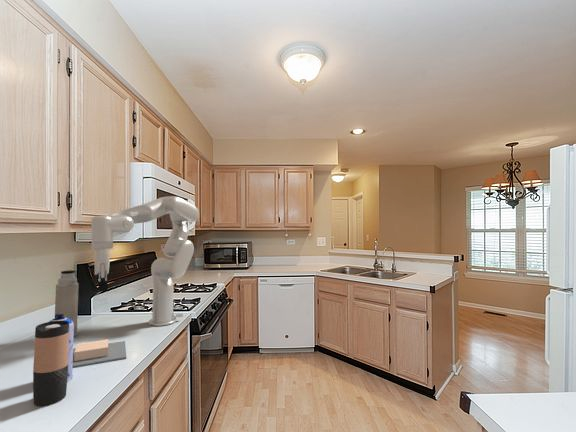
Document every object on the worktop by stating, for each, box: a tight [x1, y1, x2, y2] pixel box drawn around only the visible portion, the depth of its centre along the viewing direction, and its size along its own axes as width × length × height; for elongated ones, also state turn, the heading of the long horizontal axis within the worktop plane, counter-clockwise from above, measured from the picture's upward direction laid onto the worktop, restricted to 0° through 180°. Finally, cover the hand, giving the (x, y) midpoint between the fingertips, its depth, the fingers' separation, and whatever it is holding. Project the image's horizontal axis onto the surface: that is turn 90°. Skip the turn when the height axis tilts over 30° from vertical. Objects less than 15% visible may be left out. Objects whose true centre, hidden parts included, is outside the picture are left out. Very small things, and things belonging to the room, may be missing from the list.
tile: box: [74, 338, 109, 361], centre depth 114 cm, size 10×3×9 cm
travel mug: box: [32, 321, 69, 407], centre depth 86 cm, size 8×8×20 cm
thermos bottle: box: [54, 269, 79, 338], centre depth 134 cm, size 8×8×28 cm
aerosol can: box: [48, 313, 74, 383], centre depth 96 cm, size 8×8×20 cm
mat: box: [72, 340, 127, 369], centre depth 115 cm, size 22×18×1 cm
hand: (103, 290), depth 129 cm, fingers closed
